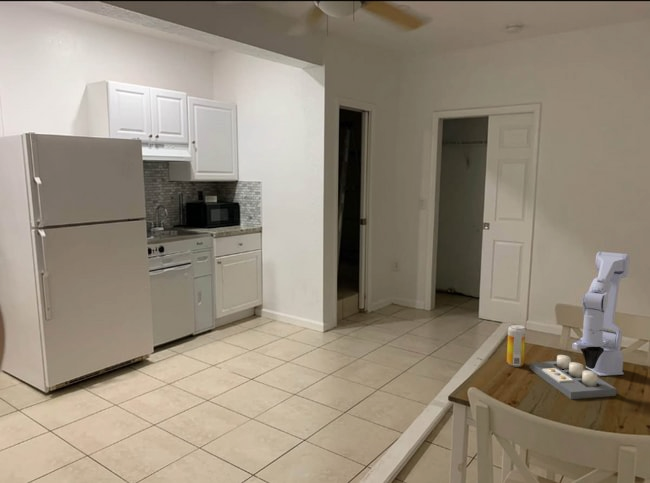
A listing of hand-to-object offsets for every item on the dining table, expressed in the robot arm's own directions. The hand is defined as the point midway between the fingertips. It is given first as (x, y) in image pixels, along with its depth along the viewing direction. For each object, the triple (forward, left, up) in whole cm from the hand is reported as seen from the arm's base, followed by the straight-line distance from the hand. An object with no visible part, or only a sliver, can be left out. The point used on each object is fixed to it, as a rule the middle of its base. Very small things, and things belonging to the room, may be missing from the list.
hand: (590, 367), depth 155 cm
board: (+2, -7, -8) cm, 11 cm away
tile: (+7, -7, -6) cm, 11 cm away
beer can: (+13, -24, -8) cm, 29 cm away
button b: (0, -7, -6) cm, 9 cm away
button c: (0, 0, -6) cm, 6 cm away
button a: (0, -14, -6) cm, 15 cm away
